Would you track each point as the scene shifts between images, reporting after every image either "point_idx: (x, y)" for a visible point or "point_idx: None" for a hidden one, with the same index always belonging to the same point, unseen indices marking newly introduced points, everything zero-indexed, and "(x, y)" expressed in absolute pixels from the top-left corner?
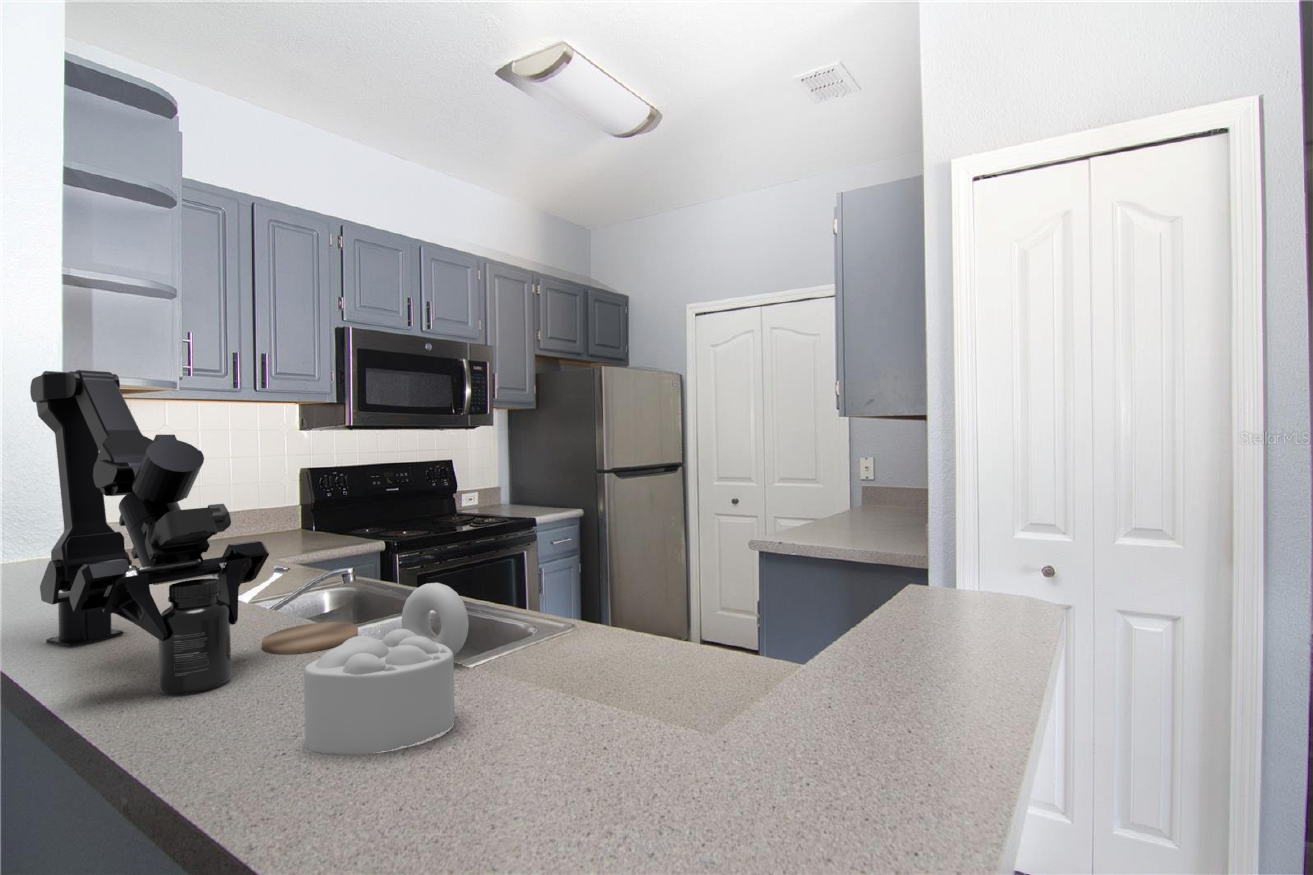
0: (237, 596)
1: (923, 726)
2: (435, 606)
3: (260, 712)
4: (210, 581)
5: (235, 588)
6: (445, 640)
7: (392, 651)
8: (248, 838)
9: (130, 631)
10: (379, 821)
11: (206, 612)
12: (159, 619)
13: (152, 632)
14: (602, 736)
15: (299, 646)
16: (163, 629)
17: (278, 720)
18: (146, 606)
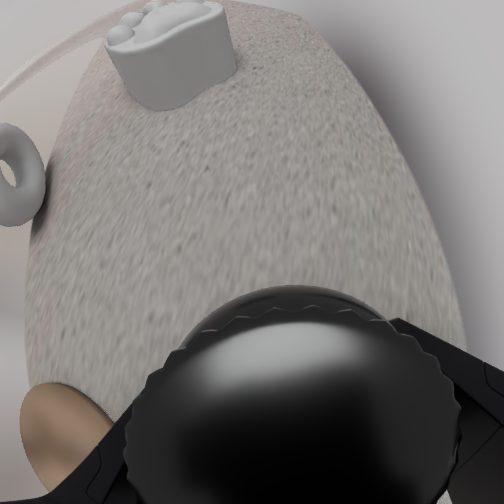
0: (108, 433)
1: (78, 33)
2: (5, 134)
3: (239, 157)
4: (184, 410)
5: (92, 464)
6: (34, 147)
7: (162, 2)
8: (298, 23)
9: None
10: (243, 15)
11: (269, 294)
12: (430, 349)
13: None
14: None
15: (90, 413)
16: (405, 327)
17: (231, 123)
18: (494, 372)
